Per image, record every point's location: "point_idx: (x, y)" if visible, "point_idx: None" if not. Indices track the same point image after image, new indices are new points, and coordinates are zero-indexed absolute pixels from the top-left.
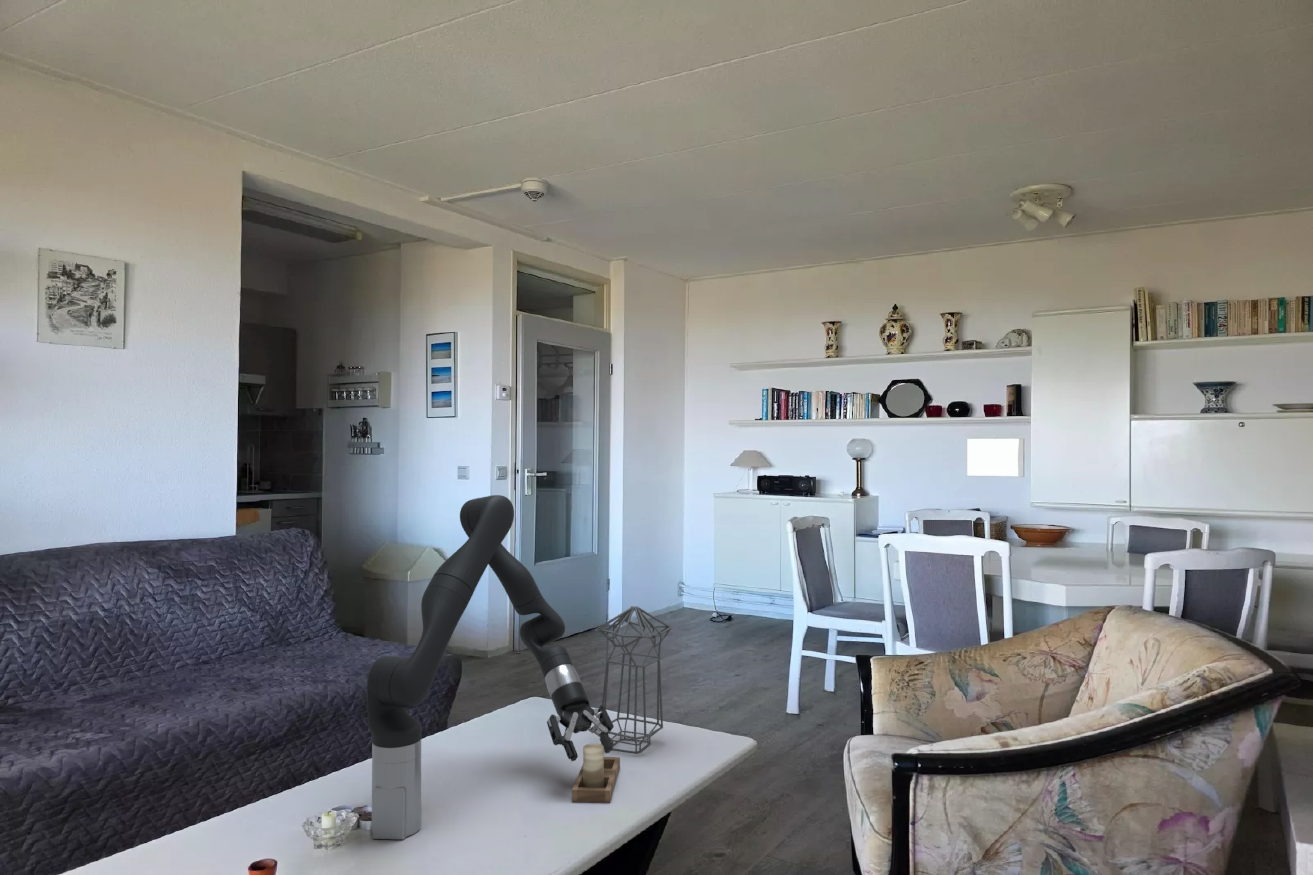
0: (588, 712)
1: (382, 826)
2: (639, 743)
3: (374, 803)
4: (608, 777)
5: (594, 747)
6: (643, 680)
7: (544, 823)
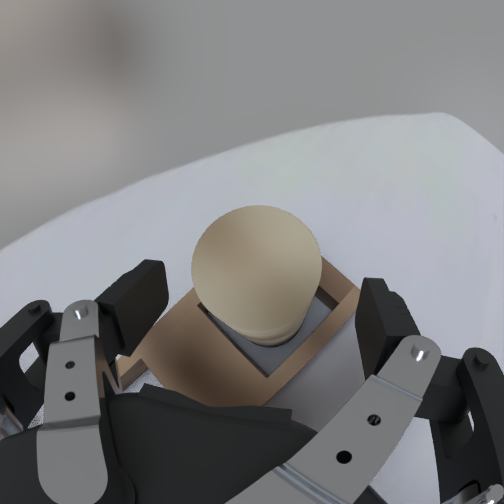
0: (42, 447)
1: None
2: None
3: None
4: (199, 308)
5: (255, 251)
6: None
7: (459, 238)
